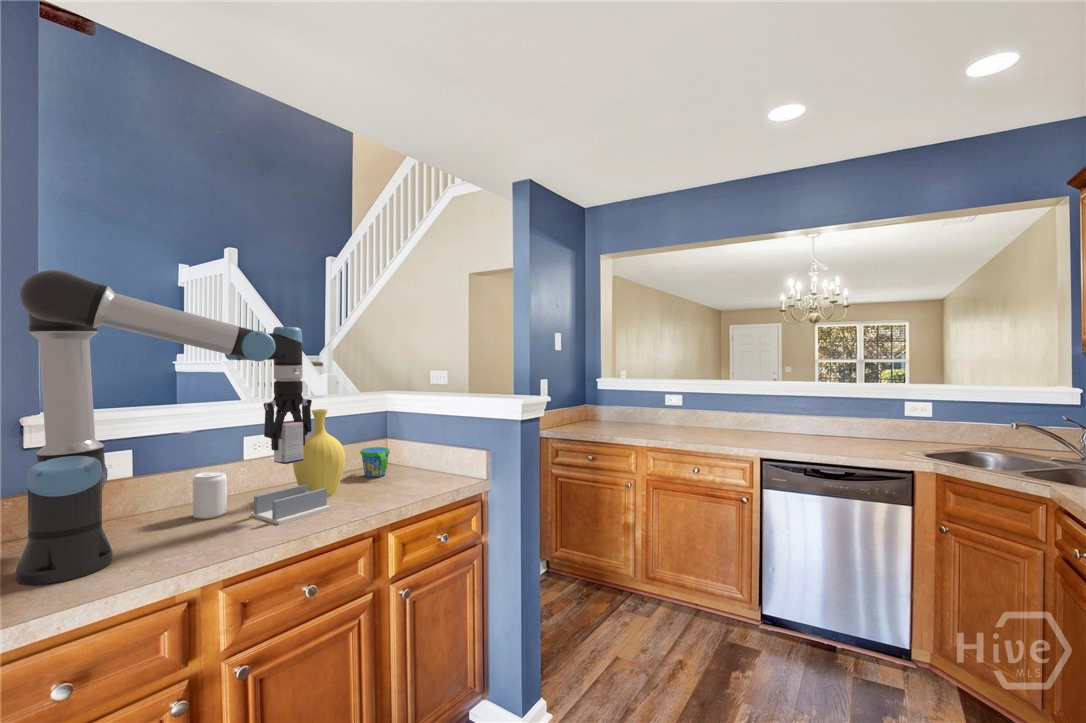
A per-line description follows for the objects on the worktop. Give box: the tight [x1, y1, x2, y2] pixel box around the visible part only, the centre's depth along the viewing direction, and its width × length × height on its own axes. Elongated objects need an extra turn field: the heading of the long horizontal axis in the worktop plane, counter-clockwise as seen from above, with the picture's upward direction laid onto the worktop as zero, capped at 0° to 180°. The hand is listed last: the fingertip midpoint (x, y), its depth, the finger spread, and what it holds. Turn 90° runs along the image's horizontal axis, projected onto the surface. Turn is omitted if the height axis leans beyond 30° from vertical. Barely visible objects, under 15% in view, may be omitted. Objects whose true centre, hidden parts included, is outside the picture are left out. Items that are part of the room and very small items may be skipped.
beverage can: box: [192, 470, 228, 520], centre depth 146 cm, size 8×8×12 cm
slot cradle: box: [250, 484, 331, 526], centre depth 149 cm, size 16×14×6 cm
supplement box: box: [273, 420, 303, 465], centre depth 148 cm, size 6×6×12 cm
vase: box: [292, 408, 346, 497], centre depth 169 cm, size 16×16×28 cm
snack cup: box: [359, 446, 391, 479], centre depth 194 cm, size 16×10×10 cm
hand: (288, 459), depth 148 cm, fingers closed on supplement box, 6 cm apart
